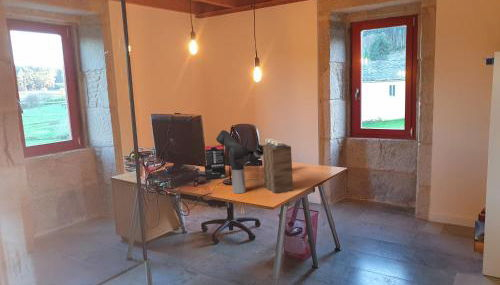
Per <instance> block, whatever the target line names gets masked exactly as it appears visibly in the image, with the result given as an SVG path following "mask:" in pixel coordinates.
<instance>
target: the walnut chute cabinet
mask: <svg viewBox="0 0 500 285" xmlns="http://www.w3.org/2000/svg"><path fill="white" fill-rule="evenodd" d="M262 146H263V155H262V156H263V172H264V185H265V186H264V187H265V188H266V189H267V190H269V191H270V192H271V191H272V192H271V193H273V194H274V193H278V194H282V193H281V192H284V193H288V191H289V192H293V191H294V183H293V182H294V181H293V178H294V177H293V163H292V162H293V159H292V158H293V157H292V146H291V145H288V144H285V143H283V142H282V145H281V146H277V145H274V144H272V143H269V142H267V143H265V144H263V145H262Z"/></svg>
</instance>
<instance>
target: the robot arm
mask: <svg viewBox="0 0 500 285" xmlns="http://www.w3.org/2000/svg"><path fill="white" fill-rule="evenodd" d="M230 135H231V134H230V133H229V132H228V131H227V130H225V129H222V130H221V131H220V132H219V134H218V135H217V137H216V138H215V141H217V143H219V145H224V149H226V150H227V151H229V152H228V154H229V159H230V170H231V182H232V192H233V194H238V193H239V194H243V193H246V191H247V190H246V176H245V174H246V173H245V165H244V163H242V162H237V161H236V160H243V159H245V157H248V156H249V157H248V161H249V163H251V164H254V165H255V164H256V163H258V161H259V159H260V158H261V157H262V156H263V145H262V144H258V145H256V146H254V147H253V150H252V149H250V148H248V147H246V146H245V145H243V144H240V143H238V142H237V140H235V138H233V136H232V135H231V136H230Z"/></svg>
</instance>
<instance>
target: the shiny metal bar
mask: <svg viewBox="0 0 500 285" xmlns="http://www.w3.org/2000/svg"><path fill="white" fill-rule="evenodd" d="M263 141H264V143H265V144H267V142H269V143H272V144H274V145H277V146H281V145H282V143H283V142H282V141H279V140H276V139H273V138H271V137H264V138H263Z"/></svg>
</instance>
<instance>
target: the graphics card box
mask: <svg viewBox="0 0 500 285" xmlns="http://www.w3.org/2000/svg"><path fill="white" fill-rule="evenodd" d="M205 148H206V159H207V166H205V165H204V173H205V174H204V176H205V179H206V178H207V179H206V180H213V179H224V178H226V177H227V173H226V161H225V159H226V158H225V156H226V155H225V146H224V145H222V144H217V145H216V144H215V145H205Z"/></svg>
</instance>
